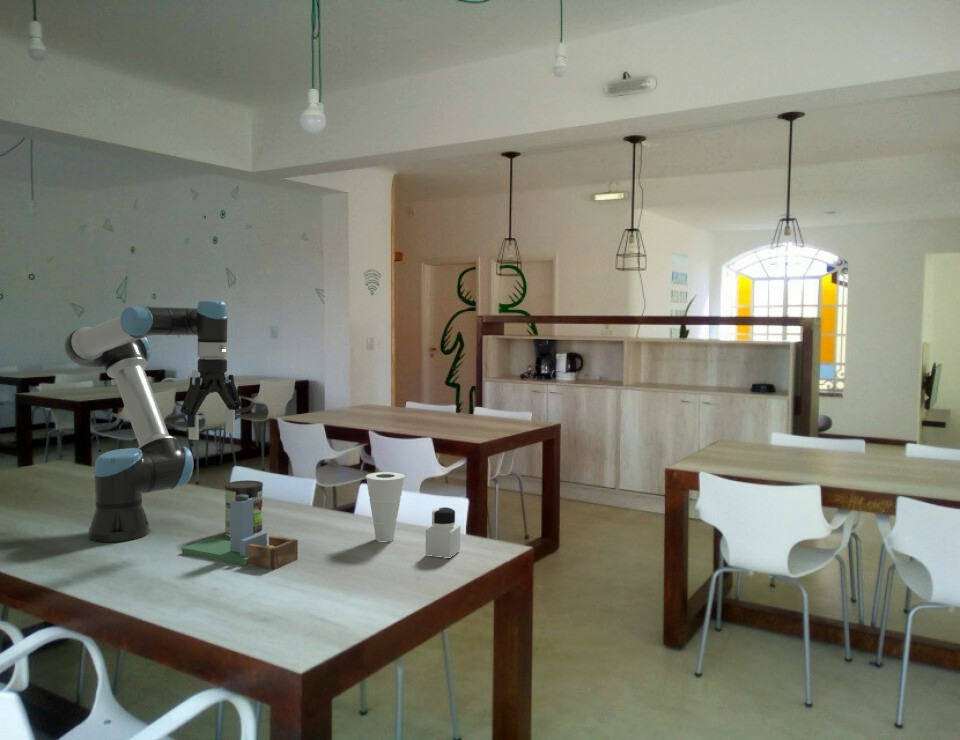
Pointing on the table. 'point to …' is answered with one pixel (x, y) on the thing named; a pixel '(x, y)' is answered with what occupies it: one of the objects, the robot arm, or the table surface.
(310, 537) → the table surface
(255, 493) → the coffee can
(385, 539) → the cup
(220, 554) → the plate
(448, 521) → the medicine bottle
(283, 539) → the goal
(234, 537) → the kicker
